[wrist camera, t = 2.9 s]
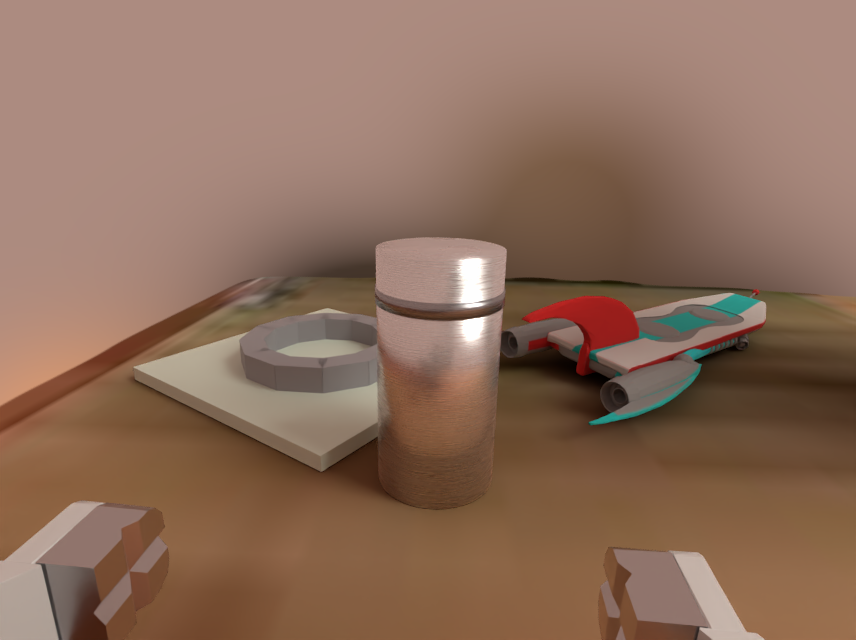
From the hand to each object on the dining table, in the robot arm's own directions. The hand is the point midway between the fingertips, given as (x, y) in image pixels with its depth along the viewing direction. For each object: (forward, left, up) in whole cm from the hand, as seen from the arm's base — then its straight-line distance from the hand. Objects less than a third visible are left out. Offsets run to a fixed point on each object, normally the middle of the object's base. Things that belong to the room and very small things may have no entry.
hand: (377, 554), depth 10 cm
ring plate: (-16, -18, -6) cm, 25 cm away
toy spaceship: (-32, -2, -6) cm, 33 cm away
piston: (-11, -6, -7) cm, 14 cm away
